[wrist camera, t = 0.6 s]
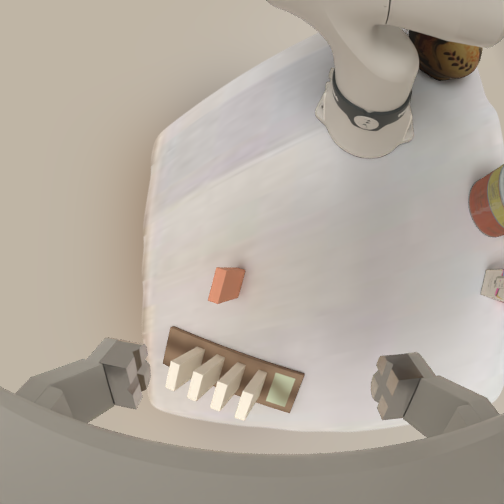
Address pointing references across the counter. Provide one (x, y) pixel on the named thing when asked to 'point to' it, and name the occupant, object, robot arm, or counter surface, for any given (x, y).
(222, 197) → the counter surface
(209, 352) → the walnut board
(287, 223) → the counter surface
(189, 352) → the ivory tile
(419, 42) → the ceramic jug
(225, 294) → the rust tile
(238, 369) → the ivory tile
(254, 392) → the ivory tile
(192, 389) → the ivory tile
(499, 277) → the ink cartridge box
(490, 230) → the canned food
